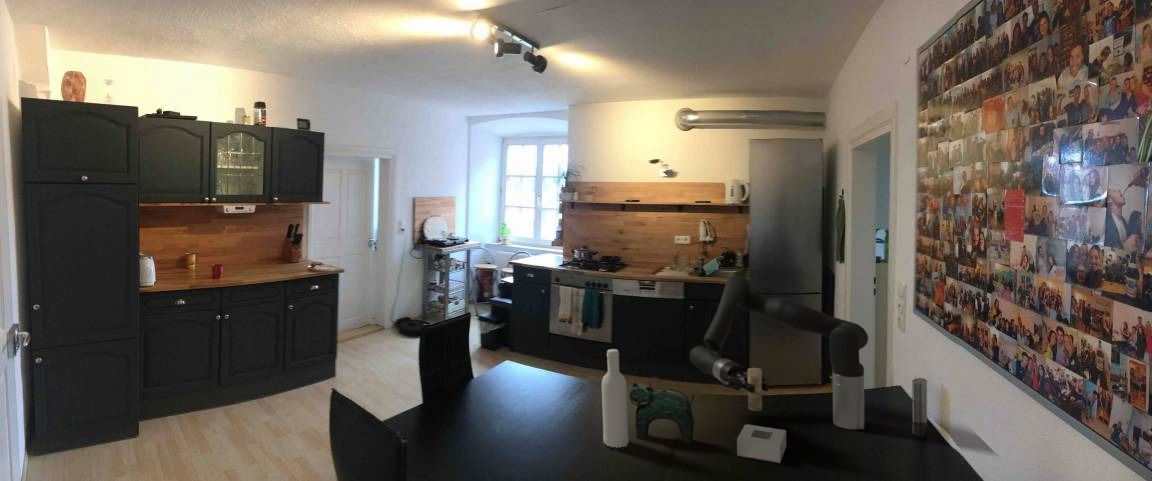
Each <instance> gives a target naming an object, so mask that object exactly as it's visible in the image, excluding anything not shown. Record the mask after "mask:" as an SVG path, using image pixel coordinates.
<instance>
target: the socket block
mask: <svg viewBox="0 0 1152 481" xmlns="http://www.w3.org/2000/svg"><path fill="white" fill-rule="evenodd" d="M786 448H787V429H786V430H785V429H779V428H773V427H765V426H758V425H753V424H744V426H743V427H742V429H741V431H740V432H739V434H738V436H737V438H736V453H737V454H736V455H737V456H738V457H743V458H749V459H754V460H759V461H766V462H771V463H775V464H776V463H777V464H781V463H782V462H781V461H782V459H783V456H784V453H785V451H786Z"/></svg>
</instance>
